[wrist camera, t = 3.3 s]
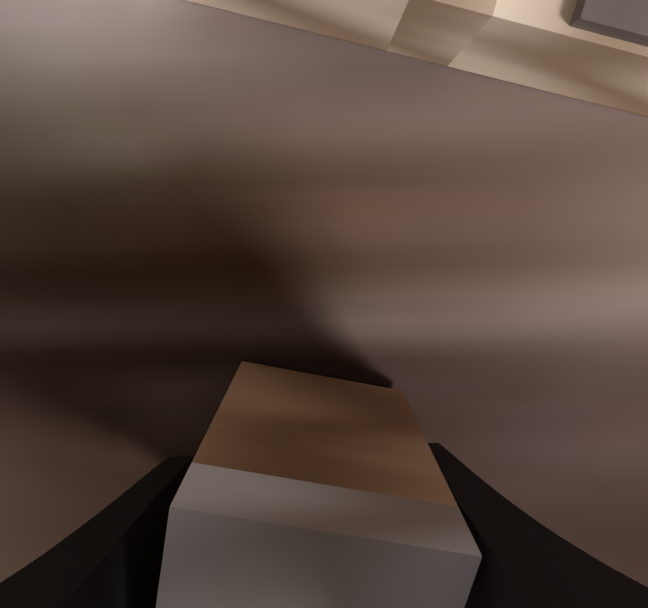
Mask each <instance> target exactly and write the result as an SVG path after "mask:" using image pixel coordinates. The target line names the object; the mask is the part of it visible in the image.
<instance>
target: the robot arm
mask: <svg viewBox="0 0 648 608" xmlns="http://www.w3.org/2000/svg"><path fill="white" fill-rule="evenodd" d="M428 445H429V447H430V449H431V451H432V453H433V456H434V458H435V460H436V462H437V464H438V466H439V468H440V470H441V472H442V474H443V476H444V478H445V480H446V482H447V485H448V487H449V489H450V491H451V493H452V495H453V497H454V499H455V501H456V503H457V505H458V507H459V509H460V511H461V514H462V516H463V518H464V520H465V522H466V524H467V526H468V528H469V530H470V532H471V534H472V536H473V538H474V540H475V543H476V545H477V547H478V549H479V551H480V553H481V555H482V559H481V562H480V565H479V567H478V570H477V573H476V576H475V579H474V582H473V584H472V587H471V590H470V593H469V596H468V599H467V602H466V604H465V607H464V608H648V587H646V586H644V585H642V584H640V583H638V582H637V581H635V580H633V579H631V578H629V577H627V576H625V575H624V574H622V573H620V572H618V571H616V570H614V569H613V568H611V567H609V566H607V565H606V564H604V563H602V562H600V561H599V560H597V559H595V558H594V557H592V556H590V555H589V554H587V553H585V552H584V551H582V550H581V549H579V548H577V547H576V546H574V545H573V544H571V543H569V542H568V541H566V540H564V539H563V538H561V537H560V536H558V535H557V534H555V533H554V532H552V531H551V530H549V529H548V528H546V527H545V526H543V525H542V524H540V523H539V522H537V521H536V520H535V519H533V518H532V517H530V516H529V515H528V514H526V513H525V512H523V511H522V510H521V509H519V508H518V507H516V506H515V505H514V504H512V503H511V502H510V501H508V500H507V499H506V498H504V497H503V496H502V495H501V494H499V493H498V492H497V491H495V490H494V489H493V488H492V487H490V486H489V485H488V484H487V483H485V482H484V481H483V480H482V479H481V478H479V477H478V476H477V475H476V474H474V473H473V472H472V471H471V470H470V469H469V468H467V467H466V466H465V465H464V464H463V463H461V462H460V461H459V460H458V459H457V458H456V457H454V456H453V455H452V454H451V453H450V452H449V451H447V450H446V449H445V448H444V447H443V446H441V445H440V444H439V443H428ZM192 461H193V456H192V457H174V458H167V459H166V460H164V461H163V462H162V463H160V464H159V465H158V466H156V467H155V468H154V469H153V470H151V471H150V472H149V473H148V474H147V475H145V476H144V477H143V478H142V479H140V480H139V481H138V482H137V483H136V484H134V485H133V486H132V487H131V488H129V489H128V490H127V491H126V492H124V493H123V494H122V495H121V496H120V497H118V498H117V499H116V500H115V501H113V502H112V503H111V504H110V505H108V506H107V507H106V508H105V509H103V510H102V511H101V512H100V513H98V514H97V515H96V516H94V517H93V518H92V519H90V520H89V521H88V522H86V523H85V524H84V525H82V526H81V527H80V528H78V529H77V530H76V531H74V532H73V533H72V534H70V535H69V536H68V537H66V538H65V539H64V540H62V541H61V542H60V543H58V544H57V545H56V546H54V547H53V548H52V549H50V550H49V551H47V552H46V553H45V554H43V555H42V556H40V557H39V558H37V559H36V560H34V561H33V562H31V563H30V564H28V565H27V566H26V567H24V568H22V569H21V570H19V571H18V572H16V573H15V574H13V575H12V576H10V577H9V578H7V579H6V580H4V581H2V582H1V583H0V608H156V601H157V594H158V587H159V580H160V573H161V565H162V558H163V551H164V544H165V537H166V530H167V523H168V515H169V508H170V505H171V503H172V501H173V499H174V497H175V495H176V493H177V491H178V489H179V487H180V485H181V483H182V481H183V479H184V477H185V475H186V473H187V471H188V469H189V467H190V465H191V463H192Z"/></svg>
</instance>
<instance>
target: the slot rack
mask: <svg viewBox="0 0 648 608" xmlns="http://www.w3.org/2000/svg"><path fill="white" fill-rule="evenodd" d="M187 1H191V2H195V3H199V4H203V5H207V6H211V7H215V8H219V9H223V10H227V11H231V12H234V13H238V14H242V15H246V16H250V17H254V18H258V19H262V20H266V21H270V22H274V23H278V24H282V25H286V26H290V27H294V28H298V29H302V30H306V31H310V32H314V33H318V34H322V35H326V36H330V37H334V38H337V39H341V40H345V41H349V42H353V43H357V44H361V45H365V46H369V47H373V48H377V49H381V50H385V51H389V52H393V53H397V54H401V55H405V56H409V57H413V58H417V59H421V60H425V61H429V62H433V63H437V64H441V65H444V66H448V67H452V68H456V69H460V70H464V71H468V72H472V73H476V74H480V75H484V76H488V77H492V78H496V79H500V80H504V81H508V82H512V83H516V84H520V85H524V86H528V87H532V88H536V89H540V90H544V91H547V92H551V93H555V94H559V95H563V96H567V97H571V98H575V99H579V100H583V101H587V102H591V103H595V104H599V105H603V106H607V107H611V108H615V109H619V110H623V111H627V112H631V113H635V114H639V115H643V116H647V117H648V0H187Z"/></svg>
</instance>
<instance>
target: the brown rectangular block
mask: <svg viewBox="0 0 648 608" xmlns="http://www.w3.org/2000/svg"><path fill="white" fill-rule="evenodd" d="M481 559H482V555H481V553H480V551H479V549H478V547H477V545H476V543H475V540H474V538H473V536H472V534H471V532H470V530H469V528H468V526H467V524H466V522H465V520H464V518H463V516H462V514H461V511H460V509H459V507H458V505H457V503H456V501H455V499H454V497H453V495H452V493H451V491H450V489H449V487H448V485H447V482H446V480H445V478H444V476H443V474H442V472H441V470H440V468H439V466H438V464H437V462H436V460H435V458H434V456H433V453H432V451H431V449H430V447H429V445H428V443H427V441H426V439H425V437H424V435H423V433H422V431H421V429H420V427H419V424H418V422H417V420H416V418H415V416H414V414H413V412H412V410H411V408H410V406H409V404H408V402H407V400H406V398H405V395H404V393H403V391H401V390H396V389H391V388H385V387H380V386H374V385H369V384H364V383H358V382H353V381H347V380H342V379H336V378H331V377H326V376H320V375H315V374H309V373H304V372H298V371H293V370H288V369H282V368H277V367H271V366H266V365H261V364H255V363H250V362H244V361H242V362H241V364H240V366H239V368H238V370H237V372H236V374H235V376H234V378H233V380H232V382H231V384H230V386H229V388H228V390H227V392H226V394H225V396H224V398H223V400H222V402H221V404H220V406H219V408H218V410H217V412H216V414H215V416H214V418H213V420H212V423H211V425H210V427H209V429H208V431H207V433H206V435H205V437H204V439H203V441H202V443H201V445H200V447H199V449H198V451H197V453H196V455H195V457H194V459H193V461H192V463H191V465H190V467H189V469H188V471H187V473H186V475H185V477H184V479H183V481H182V483H181V485H180V487H179V489H178V491H177V493H176V495H175V497H174V499H173V501H172V503H171V505H170V508H169V515H168V523H167V530H166V537H165V544H164V551H163V558H162V565H161V573H160V580H159V587H158V594H157V601H156V608H464V607H465V604H466V602H467V599H468V596H469V593H470V590H471V587H472V584H473V582H474V579H475V576H476V573H477V570H478V567H479V565H480V562H481Z"/></svg>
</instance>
